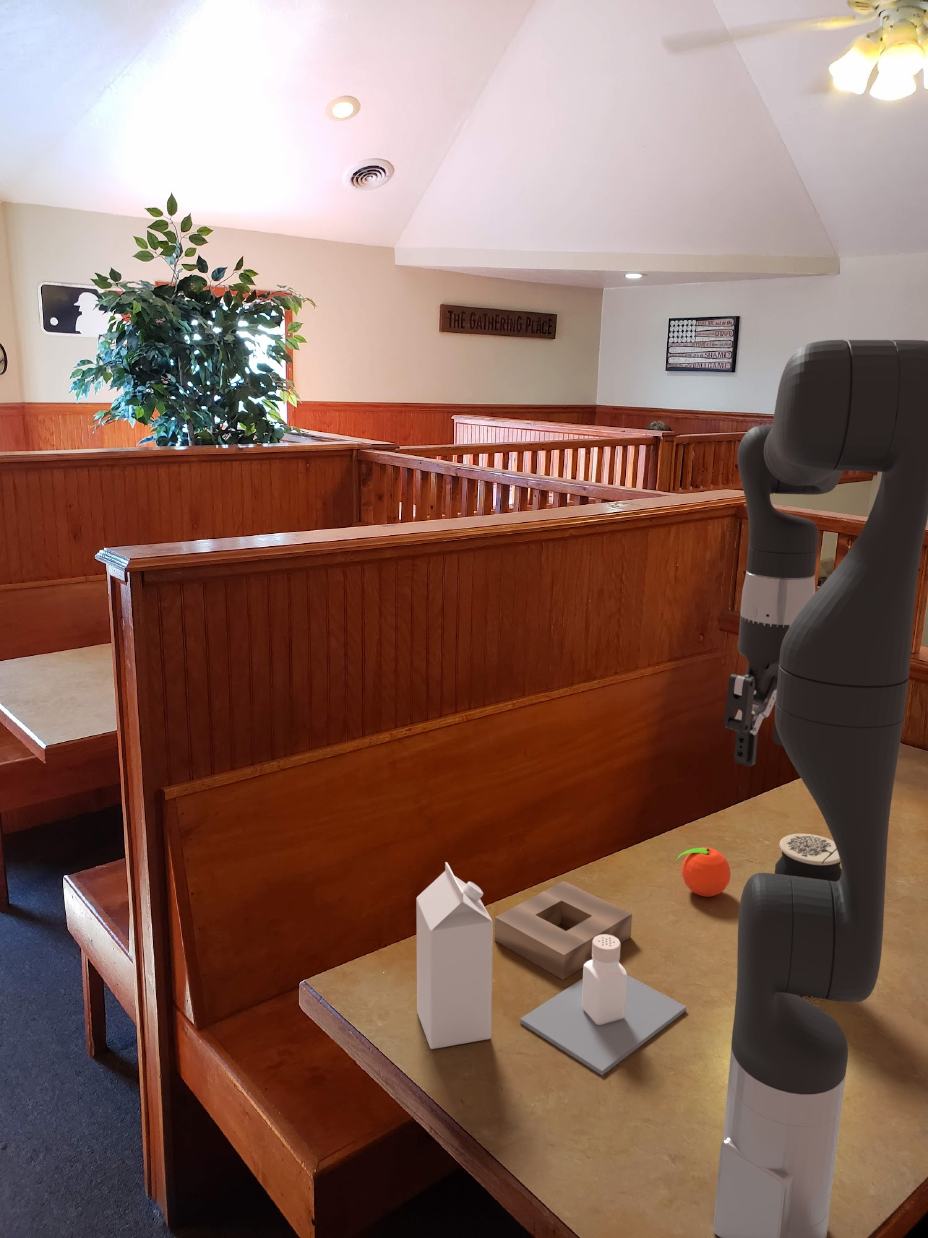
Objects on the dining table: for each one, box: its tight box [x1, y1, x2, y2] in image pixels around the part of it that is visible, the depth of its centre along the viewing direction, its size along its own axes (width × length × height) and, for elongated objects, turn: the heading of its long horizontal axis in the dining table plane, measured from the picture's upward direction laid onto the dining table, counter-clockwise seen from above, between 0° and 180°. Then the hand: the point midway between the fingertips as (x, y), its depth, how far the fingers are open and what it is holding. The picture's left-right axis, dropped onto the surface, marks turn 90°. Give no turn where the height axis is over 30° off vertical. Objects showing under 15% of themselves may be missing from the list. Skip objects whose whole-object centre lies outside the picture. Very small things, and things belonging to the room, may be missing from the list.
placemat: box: [519, 974, 687, 1076], centre depth 112 cm, size 16×12×1 cm
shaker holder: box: [494, 880, 633, 981], centre depth 128 cm, size 14×12×4 cm
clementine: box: [674, 846, 731, 898], centre depth 139 cm, size 8×7×7 cm
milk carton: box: [416, 861, 494, 1050], centre depth 108 cm, size 7×7×19 cm
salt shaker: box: [582, 934, 628, 1025], centre depth 111 cm, size 4×4×10 cm
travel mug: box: [774, 833, 841, 881], centre depth 118 cm, size 8×8×18 cm
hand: (764, 754), depth 107 cm, fingers open, 8 cm apart
